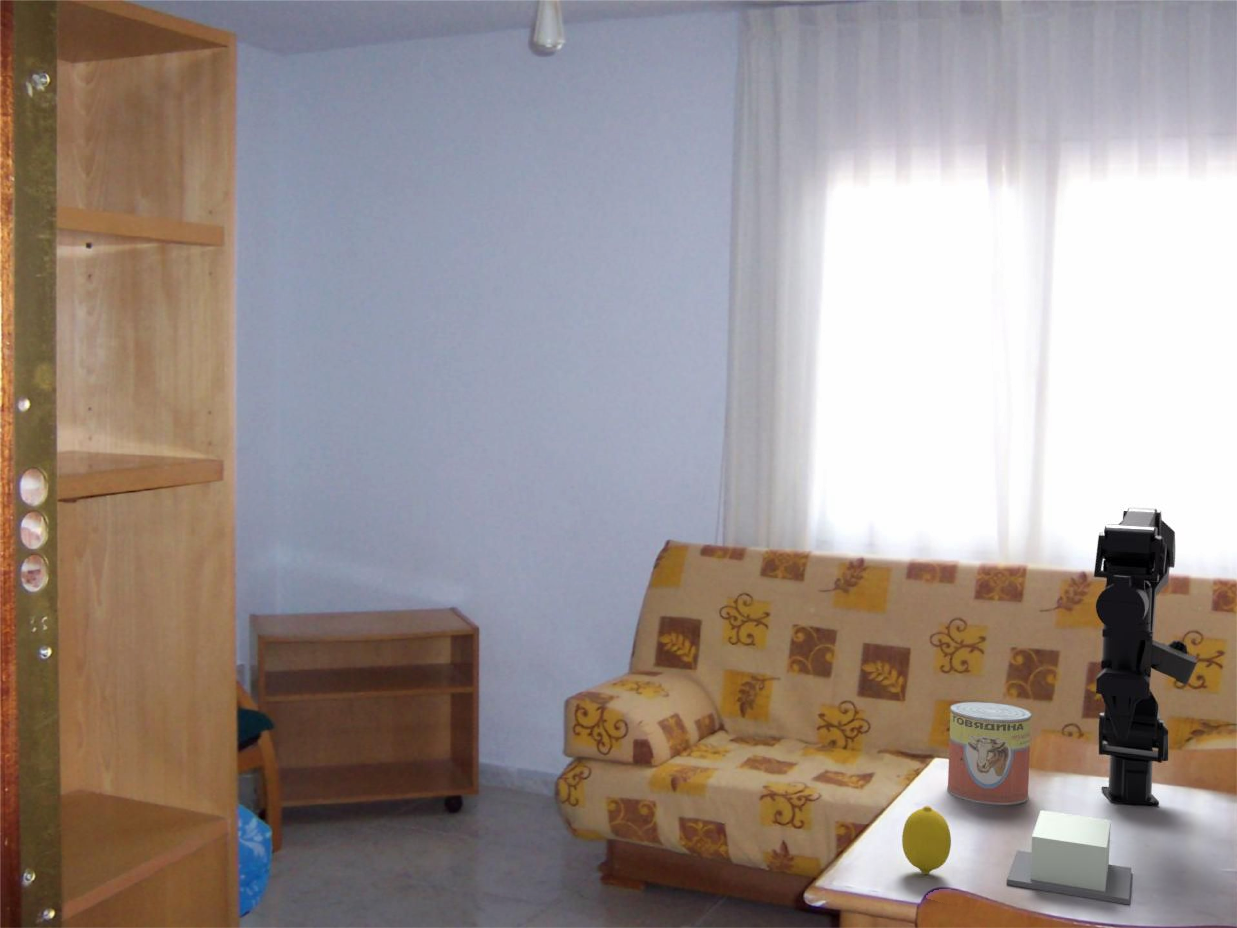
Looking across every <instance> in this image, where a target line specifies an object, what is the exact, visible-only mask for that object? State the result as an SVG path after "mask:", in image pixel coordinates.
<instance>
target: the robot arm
mask: <svg viewBox="0 0 1237 928" xmlns="http://www.w3.org/2000/svg"><path fill="white" fill-rule="evenodd" d="M1096 547H1097V548H1096V554H1095V564H1094V572H1093V573H1094V574H1093V577H1094V578H1099V579H1106V580H1105V581H1106V583H1105V584H1104V589H1103V590H1102V591H1101V592H1100V594H1099V596H1098V597H1097V599H1096V602H1095V610H1096V614H1097V617H1098V619H1099V620H1100V622H1101V623H1102V624H1103V626H1102V630H1101V631H1102V636H1101V637H1102V651H1101V652H1102V653H1101V661H1100V663H1101V664H1100V668H1101V671H1100V672H1099V673H1097V675H1096V683H1095V684H1096V685H1095V693H1096V694H1098V695H1100V696H1101V698H1102V700H1103V703H1104V705H1105V707H1104V712H1102V711H1101V712H1100V713H1099V719H1098V755H1099V756H1103V755H1104V756H1105V755H1106V756H1109V765H1108V766H1109V769H1108V771H1109V772H1108V774H1109V775H1108V786H1101V789H1100V790H1101V791H1102V793H1103V794H1104V795H1105V796H1106V798H1107V799H1108V800H1109V801H1110V802H1111V803H1117V804H1132V805H1134V804H1135V805H1148V806H1159V805H1160V800H1158V799H1157V798H1156V797H1155V795H1153V794H1152V791H1153V790H1152V788H1153V787H1152V786H1153V765H1154V764H1153V763H1154V762H1157V763H1159V764H1162V763H1163V762H1168V761H1169V750H1170V748H1169V747H1170V745H1169V743H1170V739H1169V738H1170V737H1169V735H1170V733H1169V732H1170V731H1169V729H1168V728H1167V727H1166V724H1165V720H1164V719H1161V718H1160V715H1161V713H1160V707H1159V703H1158V701H1157V700H1156V698H1155V696H1154V694H1153V692H1152V690H1151V678H1152V677H1151V676H1152V670H1154V671H1157V672H1159V673H1161V674H1163V675H1166V676H1168V677H1170V678H1173V679H1175V681H1176V682H1178V683H1180V684H1183V685H1188V684H1189V682H1190V680H1191V677H1192V675H1193V673H1194V671H1195V670H1196V666H1197V665H1198V659H1197V658H1196V657H1194V655H1193V654H1188V648H1187V647H1188V646H1187V643H1185V642H1183V641H1181V640H1178V639H1174V640H1172V641H1171V642H1170V643H1168V644H1166V643H1165V642H1162V643H1161V642H1159V641H1157V640H1154V633H1155V621H1156V620H1155V618H1156V608H1157V607H1156V605H1157V604H1156V603H1157V596H1158V595H1159V594H1160V593H1161V592H1162V590H1163V589H1164V588H1165V587H1166V585H1167V584H1168V583H1169V581H1170V570H1171V568H1175V564H1176V532H1175V531H1174V529H1172V528H1171V526H1169V525H1168V524H1167V523H1166V522H1165V521H1164V520H1162V511H1161V510H1158V509H1157V508H1147V507H1146V508H1145V507H1143V508H1142V507H1128V508H1124V509H1123V514H1122V520H1121V522H1119V523H1118V524H1110V523H1108V524H1106V525H1105V526H1104V529H1103V532H1099V533H1098V537H1097V546H1096ZM1102 567H1103V568H1102ZM1156 749H1157V750H1156Z"/></svg>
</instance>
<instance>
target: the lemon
mask: <svg viewBox="0 0 1237 928" xmlns="http://www.w3.org/2000/svg"><path fill="white" fill-rule="evenodd" d="M901 839H902V840H901V843H902V850H903V853H904V855H905V858H906V859H907V861H908V862H909V863H910V864H911V866H913V867H915V868H916V869H918V870H919V871H920V872H921V873H922V875H929V874H930V873H931V872H932V871H934V870H937V869H940V868H941V867H942V866H943V865H944V864H945V863H946V862H947V861H948V858H949V856H950V852H951V847H952V837H951V831H950V828H949V824H948V822H947V820H946V819H945V817H944V816H943V815H942V814H940V812H938V811H937V810H935V809H932V807H931V806H927V805H926V806H924V807H923V808H920V809H917V810H914V811H913V812H912V813H911V814H910V815H909V816H908V817H907V819H906V820H905V823H904V826H903V829H902V837H901Z"/></svg>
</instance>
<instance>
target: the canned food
mask: <svg viewBox="0 0 1237 928" xmlns="http://www.w3.org/2000/svg"><path fill="white" fill-rule="evenodd" d="M949 710H950V715H949V716H950V717H949V720H950V721H949V745H948V746H949V749H948V771H947V773H948V776H947V779H948V780H947V787H946V791H947V792H948V793H949V794H951V795H952V796H954V797H956V798H958V799H962V800H965V801H968V802H973V803H978V804H983V805H994V806H995V805H996V806H997V805H998V806H1009V805H1019V804H1023V803H1025V802H1027V801H1028V800H1029V798H1030V797H1029V778H1030V777H1029V776H1030V754H1031V751H1030V749H1031V748H1030V747H1031V728H1032V727H1031V726H1032V724H1031V723H1032V716H1033V715H1032V713H1031V711H1030V710H1028V709H1026V708H1022V707H1019V706H1016V705H1011V704H1006V703H999V702H990V701H964V702H963V701H962V702H956V703H954V704H951V706H950V707H949Z"/></svg>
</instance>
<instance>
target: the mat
mask: <svg viewBox="0 0 1237 928" xmlns="http://www.w3.org/2000/svg"><path fill="white" fill-rule="evenodd" d="M1030 876H1031V851H1025V850H1018V849H1017V850H1016V853H1015V855H1014V858H1013V860H1012V864H1011V867H1010V870H1009V872H1008V875H1007V878H1006V885H1008V886H1013V887H1014V886H1015V887H1020V888H1025V889H1026V888H1027V889H1032V890H1039V891H1045V892H1051V893H1056V894H1057V893H1058V894H1064V895H1070V896H1075V897H1080V898H1081V897H1082V898H1086V899H1087V898H1088V899H1094V900H1100V901H1103V902H1104V901H1106V902H1109V903H1111V902H1112V903H1118V904H1123V905H1124V904H1125V905H1130V895H1131V881H1132V867H1127V866H1124V865H1123V866H1121V865H1115V864H1109V865H1108V873H1107V880H1106V888H1105V891H1099V890H1092V889H1086V888H1080V887H1074V886H1068V885H1062V884H1056V883H1049V882H1043V881H1037V880H1031V879H1030Z"/></svg>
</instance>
